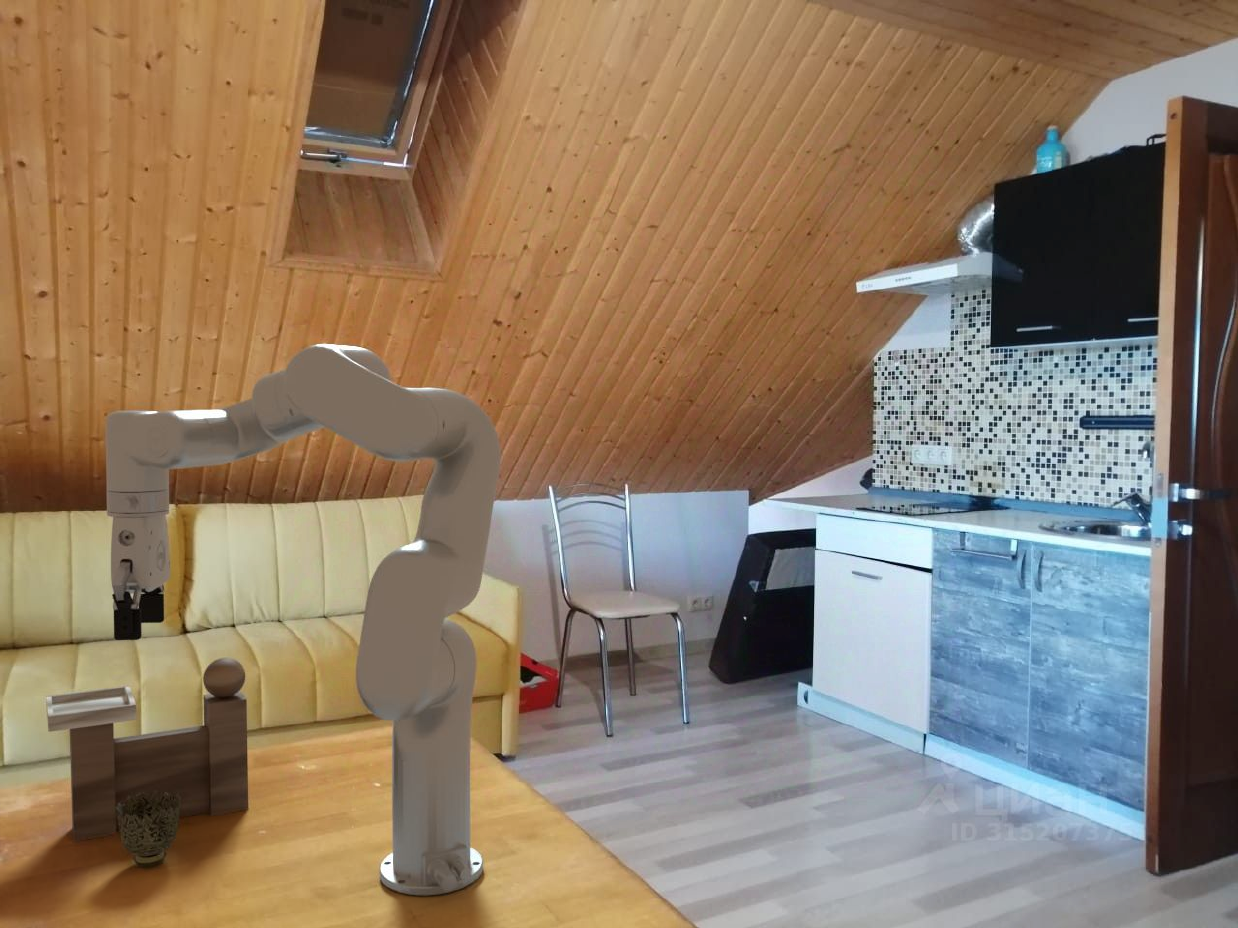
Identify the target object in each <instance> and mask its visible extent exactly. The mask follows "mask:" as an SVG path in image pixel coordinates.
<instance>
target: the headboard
mask: <svg viewBox="0 0 1238 928" xmlns="http://www.w3.org/2000/svg"><path fill="white" fill-rule="evenodd" d="M245 682H246V671H245V669H244V666H243V665H242V664H241V663H240V662H239V661H238V660H236V659H235V658H231V657H220V658H218V659H215V660H213V661H212V662H210V663H209V665H208V666H207V667H206V668H205V670H204V672H203V685H204V688H205V689H206V691H207V692H208V693H209V694H203V698H202V699H203V725H198V726H191V727H190V726H189V727H185V728H177V729H170V730H164V731H158V732H157V731H156V732H151V733H143V734H137V735H129V736H124V737H115V736H114V735H115V734H114V731H115V730H114V724H116V723H122V722H123V723H124V722H129V721H137V720H138V719H137V717H138V716H137V704H136V700H135V698H134V696H133V693H132V690H131V687H130V685H126V686H116V687H109V688H108V687H107V688H100V689H92V690H84V691H75V692H67V693H60V694H59V693H58V694H52V695H50V694H49V695H45V696H46V719H47V729H48V733H51V732H57V731H58V732H59V731H64V730H69V745H70V746H69V750H70V751H69V753H70V754H69V755H70V757H69V758H70V759H69V760H70V780H71V781H70V786H71V787H70V788H71V789H70V791H71V793H70V794H71V819H72V820H71V821H72V822H71V823H72V825H71V826H72V828H71V829H72V834H73V835H72V836H73V842H74V843H75V842H81V841H86V840H91V839H96V838H101V837H107V836H112V835H117V831H118V830H119V826H118V820H117V813H116V807H117V804H118V803H120V804H121V806H123V805H126V801H127V797H128V796H132V797H133V798H134V797H135V796H136V795H138V794H139V793H140V792H143V793H145V794H147V796H149V797H151V796H152V795H151V794H152V793H153V792H154V791H156V792H157V796H158V798H159V796H160V795H161V793H162V792H163V791H166V792H167V793H168V794H169V793H170V792H172V793H173V796H174V797H176V796H177V794H178V795H179V798H180V797H181V801H180V812H179V819H180V818H185V817H186V818H187V817H192V816H196V815H200V814H207V813H209V814H210V817H212V816H218V815H223V814H228V813H234V812H239V811H240V812H241V811H244V810H249V775H248V774H249V772H248V769H249V767H248V766H249V765H248V713H247V712H248V711H247V710H248V707H247V706H248V705H247V701H248V700H247V698H246V696H245V695H244V693H243V692H242V691H241V690H242V688H243V686H244V684H245ZM179 800H180V799H179Z"/></svg>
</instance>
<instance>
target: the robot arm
mask: <svg viewBox="0 0 1238 928" xmlns="http://www.w3.org/2000/svg"><path fill="white" fill-rule="evenodd" d="M251 393H252V395H251V398H249V399H246V400H243V401H240V402H237V403H235V404H231V405H228V406H226V407H225V406H224V407H222V408H216V409H185V410H184V409H182V410H177V409H176V410H164V411H155V410H118V411H116V410H115V411H113V412H111V413H110V414H108V416H107V417H106V420H105V457H106V458H105V466H106V468H105V470H106V473H105V475H106V516H107V517H111V518H112V524H111V528H112V529H111V542H110V543H111V544H110V545H111V547H110V579H111V587H112V592H113V594H112V599H113V603H112V609H113V639H114V640H116V641H134V640H136V641H138V640H140V639H141V638H142V636H143V635H142V633H143V632H142V624H156V623H157V624H158V623H159V624H161V623H163V622H164V621H165V595H164V592H165V583H167V582H168V581H169V580H170V578H171V557H170V539H169V529H168V520H167V516H166V515H169V514H170V470H180V469H191V468H197V467H198V468H199V467H207V466H209V467H210V466H220V465H226V464H230V463H233V462H236V461H240V460H244V459H246V458H249V457H252V456H255V455H258V454H260V453H261V454H262V453H264V452H267V451H270V450H273V449H275V448H276V447H278V446H281V445H283V444H286V443H287V442H288V441H289V440H293V439H294V438H298V437H301V436H304V435H308V434H309V433H313V432H316V431H319V430H322V429H327V430H329V431H330V432H333V433H335V434H336V435H338V436H340V437H341V438H343V439H345V440H347V441H349V442H351V443H352V444H354V445H356V446H358V447H359V448H361V449H363V450H365V451H367V452H369V453H371V454H373V455H374V456H377V457H379V458H380V459H384V460H387V461H392V462H397V463H407V462H408V463H409V462H415V461H422V460H425V461H426V460H430V459H431V460H432V461H433V464H434V465H433V471H432V473H431V476H430V479H429V481H428V483H427V485H426V487H425V490H424V493H423V495H422V496H423V497H422V500H421V506H420V507H421V508H420V513H419V515H420V516H419V520H418V521H419V522H418V526H417V529H416V530H417V531H416V534H415V537H414V540H413V542H412V543H410V544H406V545H403V546H401V547H398V548H396V549H394V550H393V551H391V552H389V553H388V554H387V555H385V557H384V558H382V560H381V562H380V563H379V564H378V566H377V567H376V569H375V571H374V573H373V574H372V577H371V580H370V584H369V586H368V591H367V597H366V602H365V607H364V614H363V619H362V626H361V632H360V638H359V639H360V640H359V645H358V651H357V657H356V665H355V683H356V689H357V693H358V695H359V698H360V700H361V702H362V703H363V705H364V706H365V708H366V709H367V710H368V711H369V712H370V713H371V714H372V715H374V716H375V717H377V718H379V719H382V720H384V721H390V722H393V723H392V736H391V779H392V780H391V789H392V792H391V794H392V795H391V796H392V798H391V800H392V801H391V802H392V804H391V805H392V807H391V808H392V815H391V817H392V852H391V853H390V854H389V855H387V856H386V857H385V858H384V859H383V860H382V862H381V864H380V866H379V877H380V881H381V883H383V885H384V886H385V887H387V888H389V889H391V890H392V891H395V892H397V893H399V894H404V895H408V896H409V895H411V896H435V895H436V896H437V895H443V894H448V893H449V894H450V893H452V892H455V891H459V890H460V889H461V890H462V889H463V888H466V887H467V886H470V885H471V884H473V883H474V882H476V881H477V879H479V878H480V876H481V875H482V872H483V870H484V869H483V868H484V859H483V856H482V855H481V853H480V852H478V851H477V850H475V848H473V847H471V738H472V737H471V734H472V733H471V729H472V727H471V722H472V721H471V720H472V705H473V697H474V690H475V684H476V675H477V653H476V647H475V645H474V642H473V640H472V637H471V636H470V635H469V634H470V633H468V632H467V631H466V629H464V627H463V626H461V625H460V624H458V623H457V622H456V621H452V620H451V619H446V618H448V617H449V616H452V615H454V614H456V613H458V612H460V611H462V610H463V609H465V608H467V607H468V606H469V605H470V604H471V603H472V602H473V601H474V600H475V599H476V597H477V595H478V593H479V591H480V588H481V586H482V585H481V583H482V580H483V571H484V566H485V559H486V553H487V549H488V542H489V537H490V531H491V524H492V516H493V510H494V504H495V500H496V493H497V488H498V483H499V479H500V478H499V477H500V470H501V461H502V459H501V458H502V457H501V456H502V455H501V454H502V452H501V443H500V440H499V436H498V432H497V430H496V427H495V425H494V423H493V421H492V420H491V418H490V417H489V415H488V414H487V413H486V411H484V409H483V408H482V407H481V406H480V405H479V404H478V403H476V402H475V401H474V400H472V399H471V398H469V397H468V396H467V395H464V394H462V393H460V392H457V391H454V390H450V389H446V388H440V387H438V388H436V387H404V386H401V385H399V384H396V383H395V382H393V381H392V379H391V374H390V369H388V366H387V365H386V363H385V362H384V360H383V359H382V358H381V357H380V356H379V355H377V354H376V353H375V352H373V351H371V350H369V349H367V348H364V347H359V346H354V345H353V346H352V345H351V346H350V345H337V344H327V343H322V344H321V343H319V344H314V345H310V346H308V347H304V348H303V349H302V350H300V351H299V352H297V353H296V354H295V355H294V356H293V357H292V358H291V359H290V361H289V362H288V363H287V365H286V368H285V369H284V368H283V369H282V370H278V371H275V372H272V373H269V374H267V375H264V376H262V377H260V378H259V379H258V380H257V382H255V385H254V386H253V390H252V392H251ZM132 594H133V595H132Z"/></svg>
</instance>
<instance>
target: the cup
mask: <svg viewBox="0 0 1238 928" xmlns="http://www.w3.org/2000/svg"><path fill="white" fill-rule="evenodd" d="M151 795H152V796H151V797H149V796H147V794H145V793H143V792H140V793H139V794H138V795H136V796H135V797H134V798H133V797H132V796H128V797H127V801H126V805H123V806H121V804H120V803H118V804H117V807H116V813H117V820H118V826H119V829H118V830H119V836H120V841H121V843H122V846H123V848H124V850H126V852H127V853H129V854H131V855H133V856H134V857H133V862H134V863H135V865H136V867H139V868H152V867H156V866H158V865H160V864H162V863H163V862H164V860H165V859H166V855H167V853H166V851H167V849H168V848H170V847H171V846H172V844H173V842H175V839H176V837H177V833H178V827H179V820H180V818H179V812H180V801H181V797H180V798H179V795H178V794H177V796H176V797H174V796H173V793H172V792H170V793H169V794H168V793H167V792H166V791H163V792H162V793H161V795H160V796H159V798H158V796H157V792H156V791H154V792H153V793H152V794H151ZM179 799H180V800H179Z"/></svg>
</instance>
